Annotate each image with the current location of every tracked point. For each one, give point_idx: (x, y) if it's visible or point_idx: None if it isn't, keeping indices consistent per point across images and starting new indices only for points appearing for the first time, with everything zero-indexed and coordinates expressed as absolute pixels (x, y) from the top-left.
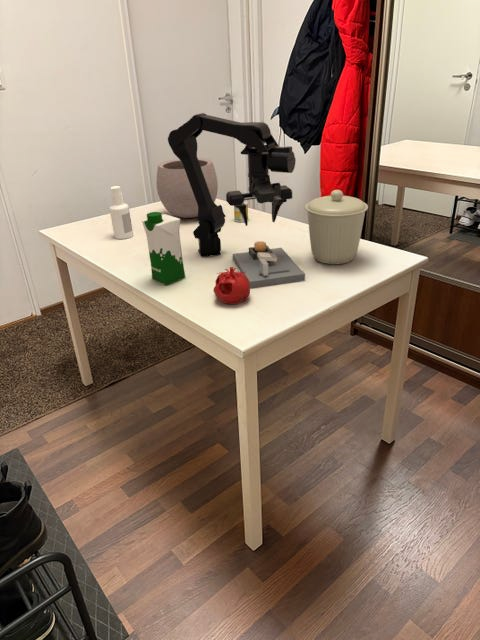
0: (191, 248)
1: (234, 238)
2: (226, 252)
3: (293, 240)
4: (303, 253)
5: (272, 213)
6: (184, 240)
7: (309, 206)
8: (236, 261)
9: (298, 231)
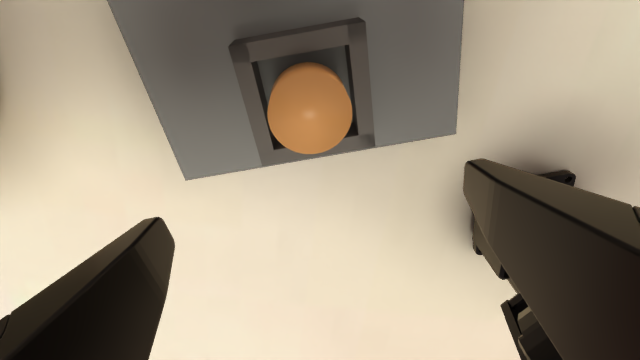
0: None
1: (383, 323)
2: (446, 210)
3: None
4: (74, 148)
5: (138, 325)
6: None
7: None
8: (458, 33)
9: None
